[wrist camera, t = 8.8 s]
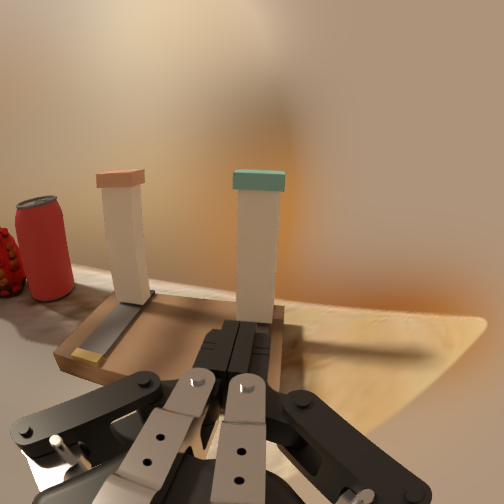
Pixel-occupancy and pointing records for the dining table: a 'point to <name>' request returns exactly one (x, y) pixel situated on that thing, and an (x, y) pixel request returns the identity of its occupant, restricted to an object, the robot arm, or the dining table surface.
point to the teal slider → (257, 242)
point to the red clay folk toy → (10, 266)
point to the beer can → (44, 248)
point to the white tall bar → (125, 233)
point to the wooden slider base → (154, 338)
